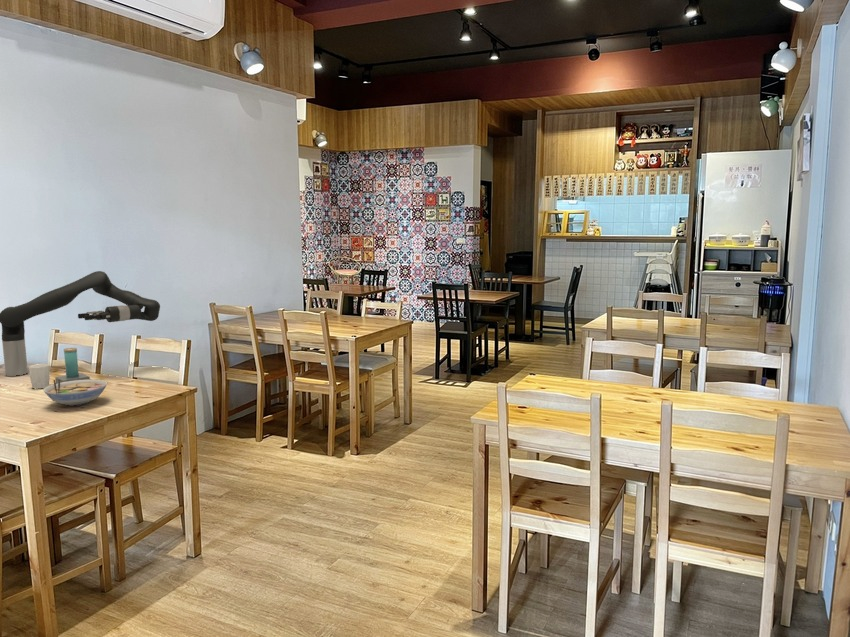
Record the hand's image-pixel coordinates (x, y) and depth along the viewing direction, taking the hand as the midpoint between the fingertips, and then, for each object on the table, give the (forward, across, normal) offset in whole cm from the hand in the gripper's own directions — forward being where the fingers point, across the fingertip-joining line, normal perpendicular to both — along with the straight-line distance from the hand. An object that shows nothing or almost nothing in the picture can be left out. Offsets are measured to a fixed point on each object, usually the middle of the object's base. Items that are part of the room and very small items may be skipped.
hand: (81, 317), depth 288 cm
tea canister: (+7, +4, +26) cm, 28 cm away
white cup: (+19, 0, +30) cm, 36 cm away
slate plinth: (+7, +4, +30) cm, 31 cm away
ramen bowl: (+17, +41, +30) cm, 54 cm away
